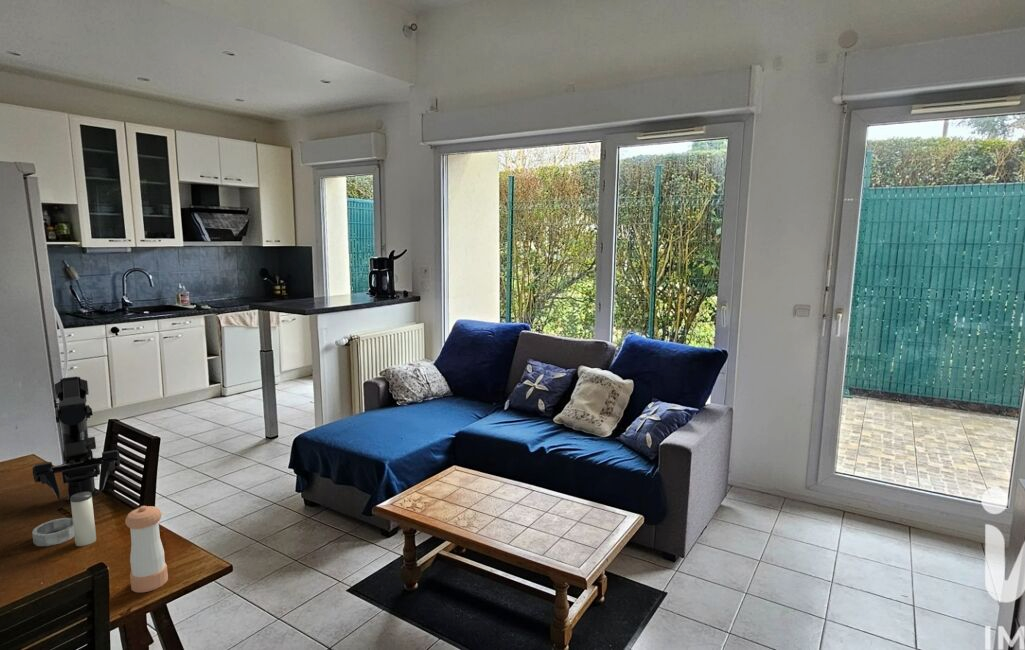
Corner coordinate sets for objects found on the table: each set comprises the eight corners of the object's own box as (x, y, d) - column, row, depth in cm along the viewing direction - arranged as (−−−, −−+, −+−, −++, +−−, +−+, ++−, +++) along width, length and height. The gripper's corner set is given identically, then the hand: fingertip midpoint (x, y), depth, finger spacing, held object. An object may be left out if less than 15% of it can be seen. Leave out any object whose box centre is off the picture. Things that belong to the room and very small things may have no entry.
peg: (84, 537, 150) (79, 491, 148) (100, 537, 150) (95, 491, 148) (71, 545, 146) (65, 499, 144) (87, 546, 146) (82, 499, 144)
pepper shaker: (161, 570, 136) (154, 496, 133) (173, 581, 132) (166, 505, 129) (126, 583, 131) (118, 507, 127) (137, 596, 126) (129, 517, 123)
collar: (53, 527, 154) (52, 517, 154) (86, 528, 154) (85, 518, 154) (24, 545, 145) (23, 535, 145) (59, 546, 145) (58, 535, 145)
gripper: (28, 436, 146) (31, 491, 139) (116, 422, 157) (122, 472, 150) (33, 455, 153) (36, 508, 146) (116, 441, 164) (123, 489, 157)
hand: (80, 494), depth 150 cm, fingers open, 9 cm apart
